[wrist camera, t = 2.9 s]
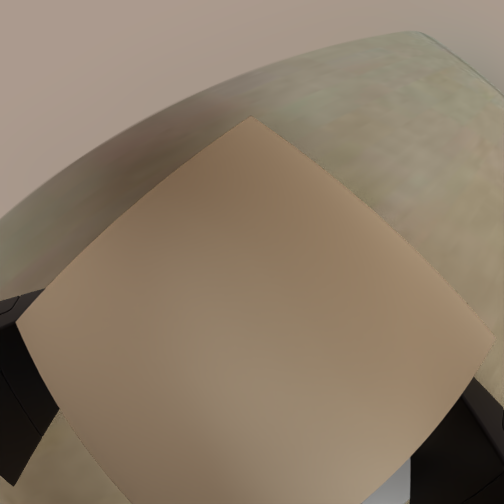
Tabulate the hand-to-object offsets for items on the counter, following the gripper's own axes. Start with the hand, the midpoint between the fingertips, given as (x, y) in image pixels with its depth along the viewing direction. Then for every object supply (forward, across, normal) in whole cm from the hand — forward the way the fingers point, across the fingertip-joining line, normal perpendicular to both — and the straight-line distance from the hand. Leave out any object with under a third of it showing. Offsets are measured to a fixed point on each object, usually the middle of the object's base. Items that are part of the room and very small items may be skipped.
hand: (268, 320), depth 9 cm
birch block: (+3, 0, +5) cm, 6 cm away
